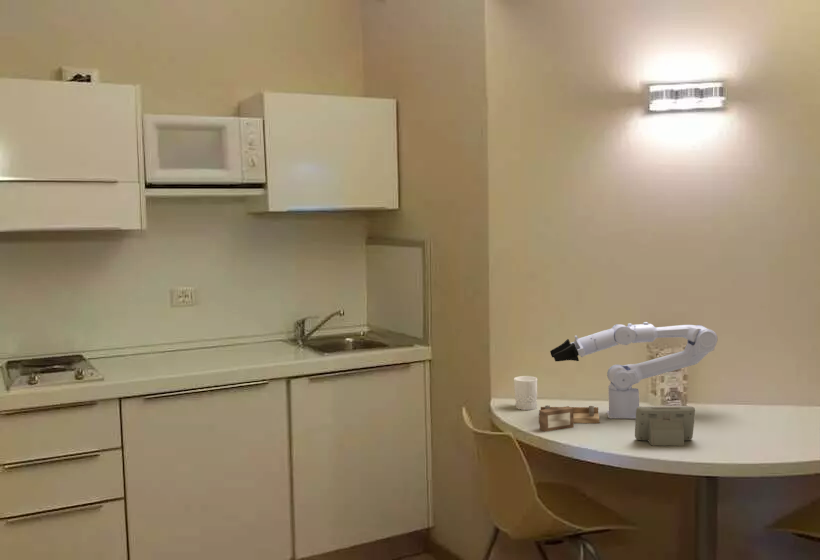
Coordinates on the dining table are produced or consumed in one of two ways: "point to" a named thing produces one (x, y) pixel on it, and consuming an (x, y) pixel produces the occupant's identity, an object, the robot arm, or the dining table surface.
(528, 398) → the white cup
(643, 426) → the digital clock
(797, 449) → the dining table surface
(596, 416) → the wooden stand base
